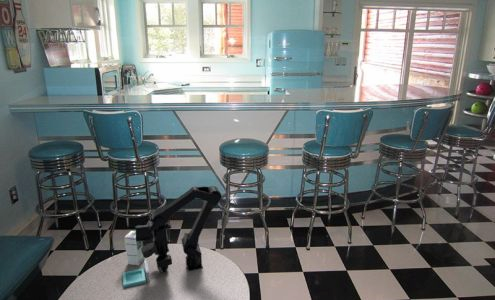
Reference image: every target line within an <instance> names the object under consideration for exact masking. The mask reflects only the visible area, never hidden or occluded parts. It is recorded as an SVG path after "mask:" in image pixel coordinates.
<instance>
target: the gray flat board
mask: <svg viewBox="0 0 495 300" xmlns="http://www.w3.org/2000/svg"><path fill="white" fill-rule="evenodd" d="M143 262H144V265H143V266H144V271H145V278H146V283H149V282H150V281H151V280H150V279H151V278H150V270H149V265H148V258H145V259H144V260H143Z"/></svg>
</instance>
